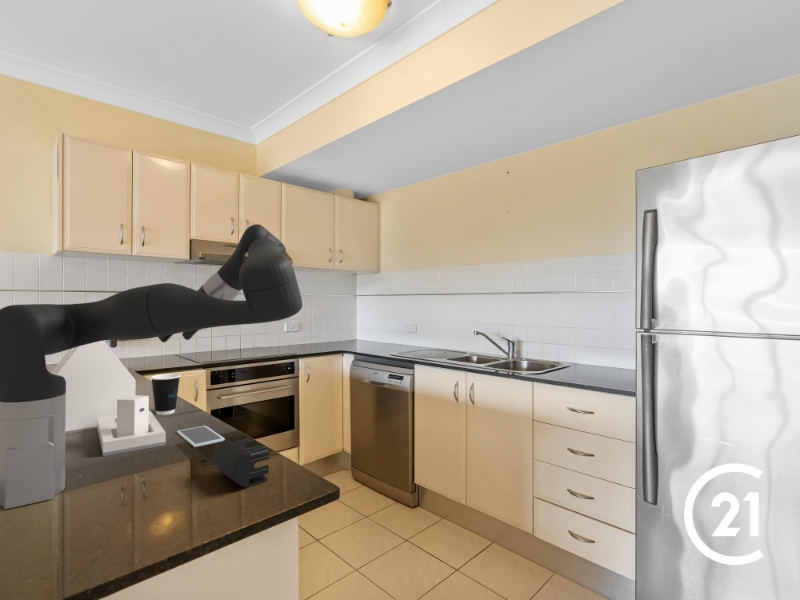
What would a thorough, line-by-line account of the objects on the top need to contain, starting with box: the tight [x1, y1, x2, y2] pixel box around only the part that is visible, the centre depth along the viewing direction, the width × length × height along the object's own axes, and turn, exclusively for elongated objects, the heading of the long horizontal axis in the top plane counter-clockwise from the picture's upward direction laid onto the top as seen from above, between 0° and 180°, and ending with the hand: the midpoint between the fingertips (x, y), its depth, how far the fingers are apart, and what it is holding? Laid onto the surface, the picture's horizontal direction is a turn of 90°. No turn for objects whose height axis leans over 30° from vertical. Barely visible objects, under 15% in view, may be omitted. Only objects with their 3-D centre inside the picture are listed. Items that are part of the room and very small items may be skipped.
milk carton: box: [50, 340, 137, 432], centre depth 117 cm, size 19×15×25 cm
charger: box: [117, 394, 150, 438], centre depth 100 cm, size 5×4×10 cm
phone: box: [176, 425, 226, 448], centre depth 105 cm, size 14×7×1 cm, turn 43°
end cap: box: [211, 438, 270, 489], centre depth 81 cm, size 10×7×7 cm
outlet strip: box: [96, 410, 167, 457], centre depth 105 cm, size 24×12×3 cm, turn 38°
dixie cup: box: [150, 373, 182, 416], centre depth 126 cm, size 8×8×11 cm
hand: (173, 338), depth 105 cm, fingers open, 8 cm apart
